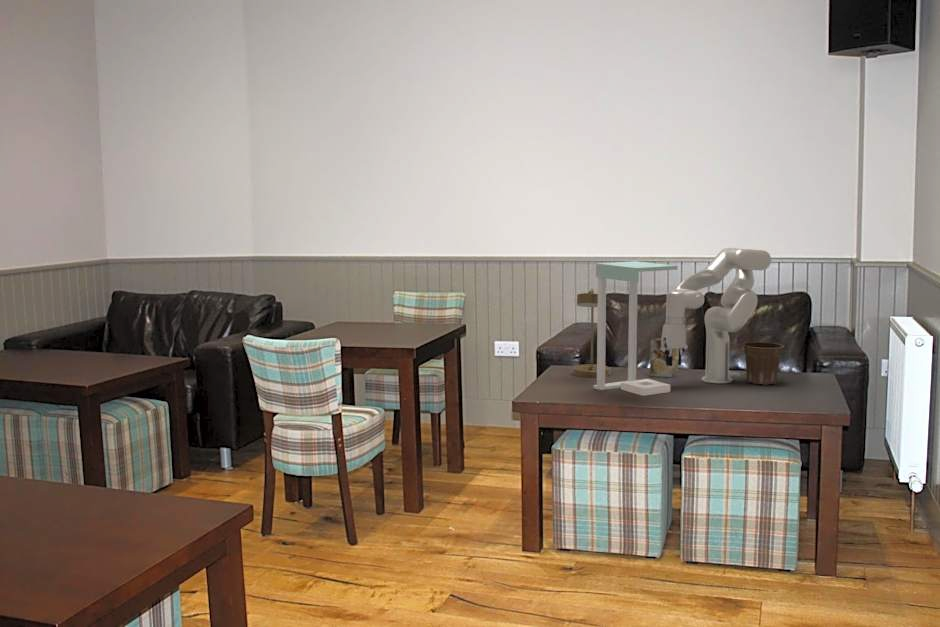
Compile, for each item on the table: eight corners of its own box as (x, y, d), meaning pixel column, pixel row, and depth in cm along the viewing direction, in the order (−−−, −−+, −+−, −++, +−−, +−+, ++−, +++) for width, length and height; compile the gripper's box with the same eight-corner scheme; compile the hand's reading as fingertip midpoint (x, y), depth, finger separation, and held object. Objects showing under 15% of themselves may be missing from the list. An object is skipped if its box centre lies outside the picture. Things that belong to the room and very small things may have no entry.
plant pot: (777, 378, 416) (779, 341, 413) (786, 386, 400) (787, 348, 397) (738, 378, 417) (740, 341, 415) (745, 386, 401) (746, 347, 399)
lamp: (567, 381, 414) (568, 292, 409) (573, 369, 440) (573, 286, 435) (608, 382, 410) (609, 293, 405) (611, 370, 437) (612, 286, 432)
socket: (647, 385, 403) (647, 378, 403) (670, 392, 391) (670, 384, 391) (620, 389, 396) (621, 382, 396) (642, 395, 384) (642, 388, 384)
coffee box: (672, 374, 426) (673, 338, 424) (671, 377, 420) (671, 340, 418) (651, 373, 429) (651, 337, 427) (649, 376, 423) (650, 340, 421)
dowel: (676, 369, 402) (677, 345, 400) (679, 371, 398) (680, 347, 396) (667, 369, 402) (668, 345, 400) (669, 371, 398) (670, 347, 396)
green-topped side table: (631, 383, 409) (633, 261, 402) (674, 394, 386) (677, 265, 379) (593, 388, 400) (594, 263, 393) (634, 400, 376) (636, 268, 369)
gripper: (684, 319, 404) (682, 362, 407) (653, 321, 396) (651, 365, 399) (696, 321, 398) (695, 365, 400) (665, 323, 390) (663, 368, 392)
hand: (673, 364), depth 399 cm, fingers closed on dowel, 4 cm apart
